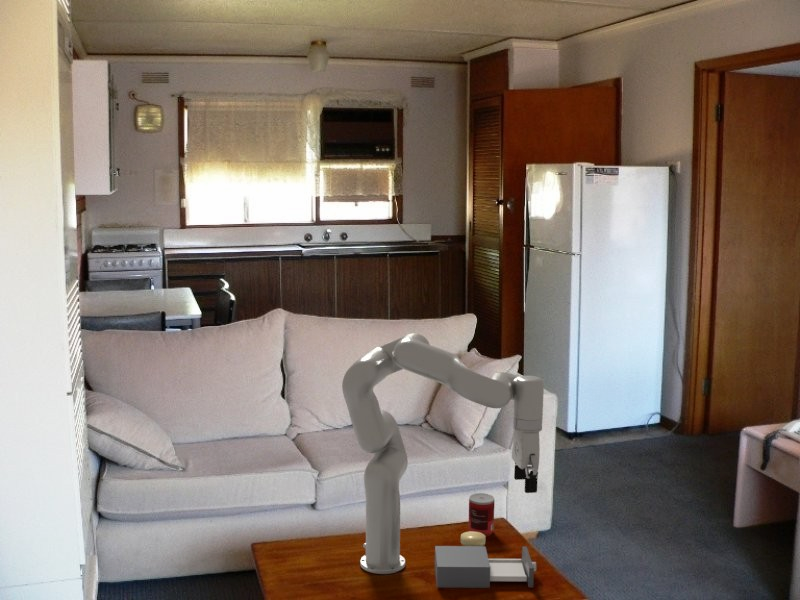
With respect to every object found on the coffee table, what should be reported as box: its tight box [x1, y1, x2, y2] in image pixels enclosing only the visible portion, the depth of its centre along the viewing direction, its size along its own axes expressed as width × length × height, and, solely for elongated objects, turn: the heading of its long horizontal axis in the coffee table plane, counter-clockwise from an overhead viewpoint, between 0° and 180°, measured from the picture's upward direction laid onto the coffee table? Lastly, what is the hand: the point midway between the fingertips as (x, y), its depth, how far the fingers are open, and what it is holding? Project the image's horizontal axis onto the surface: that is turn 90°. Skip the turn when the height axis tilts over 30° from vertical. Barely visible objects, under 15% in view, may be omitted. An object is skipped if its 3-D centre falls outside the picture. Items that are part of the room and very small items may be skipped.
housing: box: [434, 545, 491, 589], centre depth 253 cm, size 14×13×6 cm
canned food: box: [468, 492, 495, 538], centre depth 282 cm, size 8×8×11 cm
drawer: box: [488, 546, 537, 588], centre depth 253 cm, size 16×14×5 cm
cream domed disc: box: [460, 530, 487, 546], centre depth 265 cm, size 7×7×2 cm
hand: (525, 485), depth 247 cm, fingers open, 9 cm apart
